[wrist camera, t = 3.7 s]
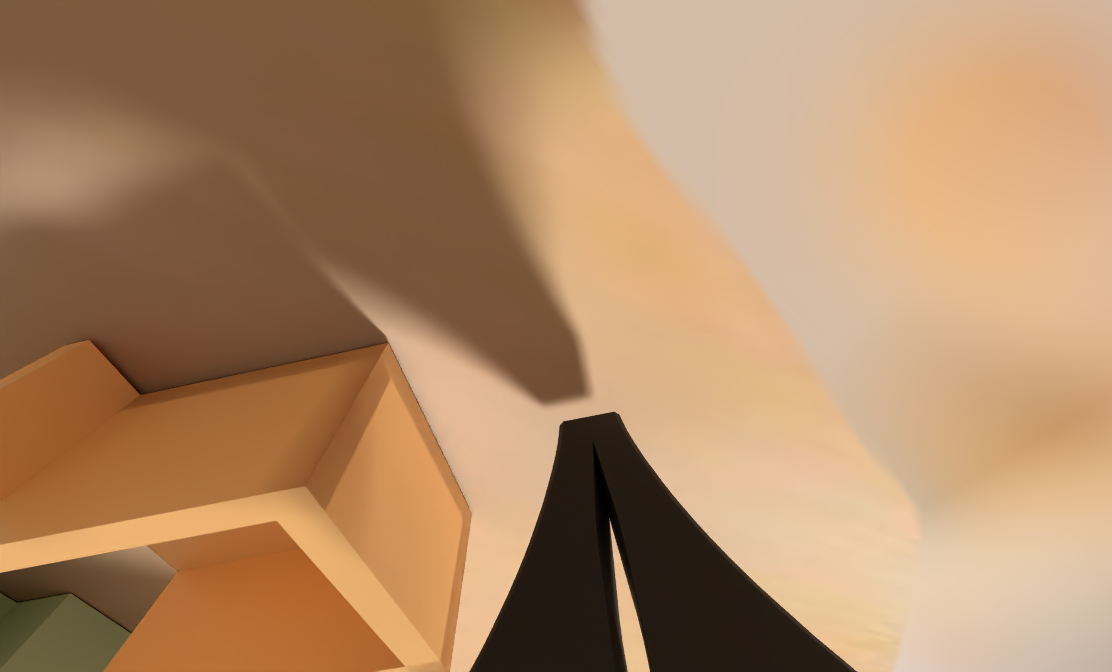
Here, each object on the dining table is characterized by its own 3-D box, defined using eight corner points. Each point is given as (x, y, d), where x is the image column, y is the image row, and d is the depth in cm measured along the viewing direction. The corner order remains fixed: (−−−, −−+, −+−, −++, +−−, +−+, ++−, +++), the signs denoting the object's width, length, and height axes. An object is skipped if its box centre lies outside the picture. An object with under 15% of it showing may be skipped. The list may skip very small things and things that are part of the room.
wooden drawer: (486, 543, 14) (471, 700, 10) (233, 589, 14) (133, 754, 11) (358, 280, 9) (241, 403, 5) (-20, 364, 9) (-357, 527, 6)
